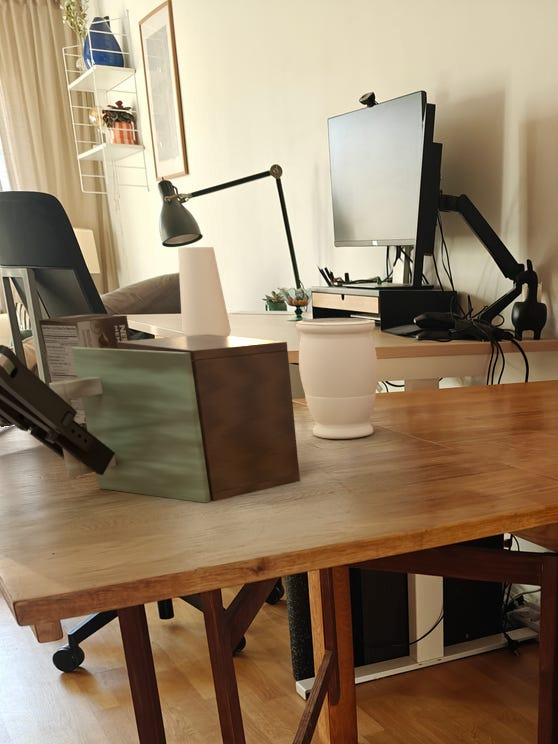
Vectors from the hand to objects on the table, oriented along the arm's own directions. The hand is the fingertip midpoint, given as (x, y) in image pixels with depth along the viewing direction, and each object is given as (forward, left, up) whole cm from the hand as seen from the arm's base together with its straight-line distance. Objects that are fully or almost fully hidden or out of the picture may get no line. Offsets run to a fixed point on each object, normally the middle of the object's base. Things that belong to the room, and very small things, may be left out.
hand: (97, 461), depth 89 cm
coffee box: (-29, -1, -4) cm, 29 cm away
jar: (-25, +30, -4) cm, 39 cm away
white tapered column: (-41, +14, -4) cm, 43 cm away
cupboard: (-3, +12, -4) cm, 13 cm away
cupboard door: (+4, +3, -4) cm, 6 cm away
